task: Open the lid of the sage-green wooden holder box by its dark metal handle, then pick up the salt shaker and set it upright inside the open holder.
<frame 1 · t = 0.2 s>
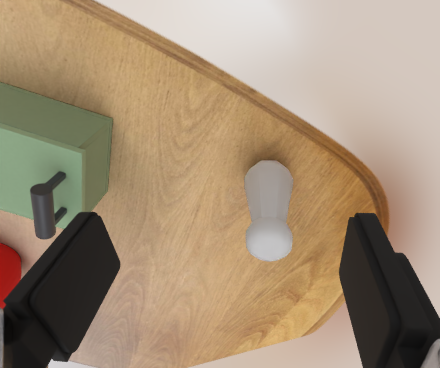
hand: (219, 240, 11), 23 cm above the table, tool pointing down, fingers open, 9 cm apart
salt shaker: (268, 172, 36), on the table
holder: (56, 140, 37), on the table
ceramic cup: (4, 259, 54), on the table
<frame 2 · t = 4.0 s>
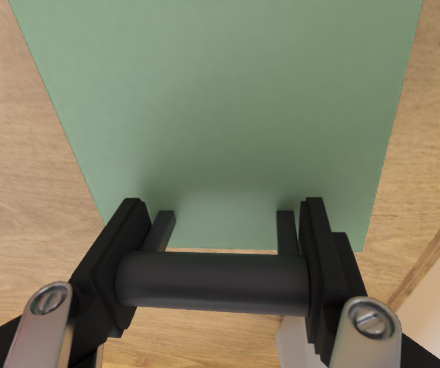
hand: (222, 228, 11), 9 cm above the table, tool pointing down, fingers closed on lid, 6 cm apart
salt shaker: (302, 318, 30), on the table
lid: (196, 91, 8), point 10 cm above the table, hinge at 0.0°, touching gripper
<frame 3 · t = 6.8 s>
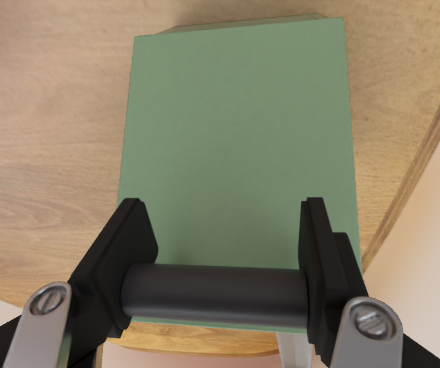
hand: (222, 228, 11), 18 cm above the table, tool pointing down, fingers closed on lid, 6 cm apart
salt shaker: (290, 292, 41), on the table
holder: (246, 109, 27), on the table
lid: (225, 149, 12), point 15 cm above the table, hinge at 45.8°, touching gripper
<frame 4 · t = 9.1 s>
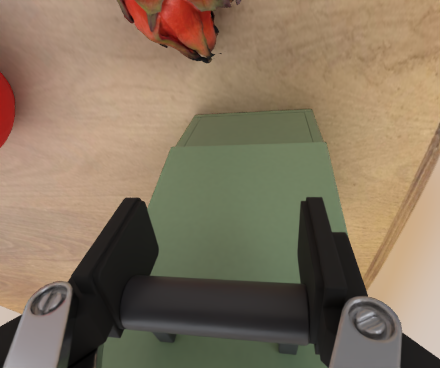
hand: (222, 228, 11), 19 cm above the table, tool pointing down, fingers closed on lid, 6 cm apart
holder: (254, 174, 32), on the table
lid: (233, 208, 15), point 16 cm above the table, hinge at 78.2°, touching gripper
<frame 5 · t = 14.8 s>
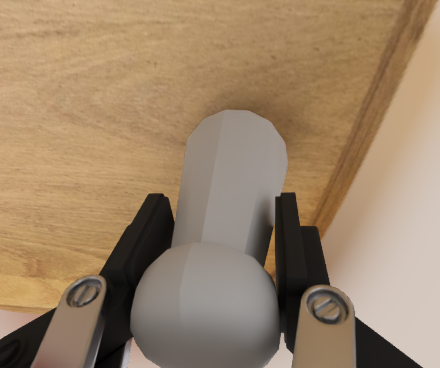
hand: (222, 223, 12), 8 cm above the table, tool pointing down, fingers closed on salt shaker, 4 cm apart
salt shaker: (238, 141, 18), on the table, touching gripper
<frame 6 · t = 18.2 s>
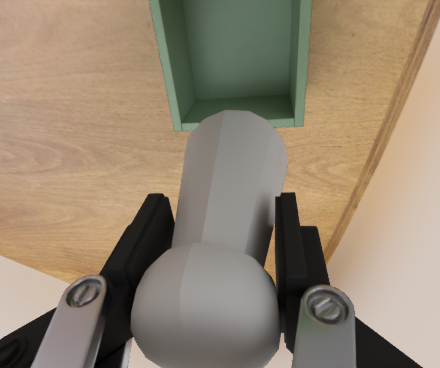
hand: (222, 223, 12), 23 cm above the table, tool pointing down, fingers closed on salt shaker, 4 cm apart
salt shaker: (238, 141, 18), point 15 cm above the table, touching gripper
holder: (238, 28, 28), on the table
when the fingers open (9 cm above the table, at t = 22.0 s): salt shaker stays where it is, resting on holder.
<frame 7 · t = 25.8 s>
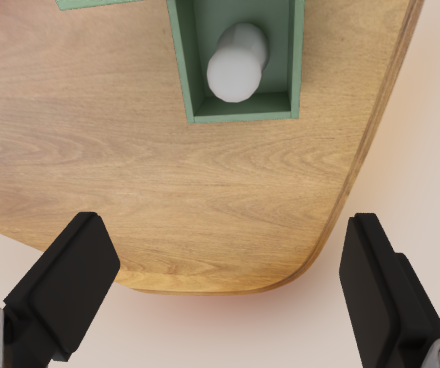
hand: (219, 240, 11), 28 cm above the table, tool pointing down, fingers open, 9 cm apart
salt shaker: (243, 49, 32), point 1 cm above the table, touching holder
holder: (242, 34, 32), on the table
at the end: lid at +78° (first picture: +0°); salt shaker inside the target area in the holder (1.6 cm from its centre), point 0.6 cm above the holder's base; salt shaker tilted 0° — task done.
